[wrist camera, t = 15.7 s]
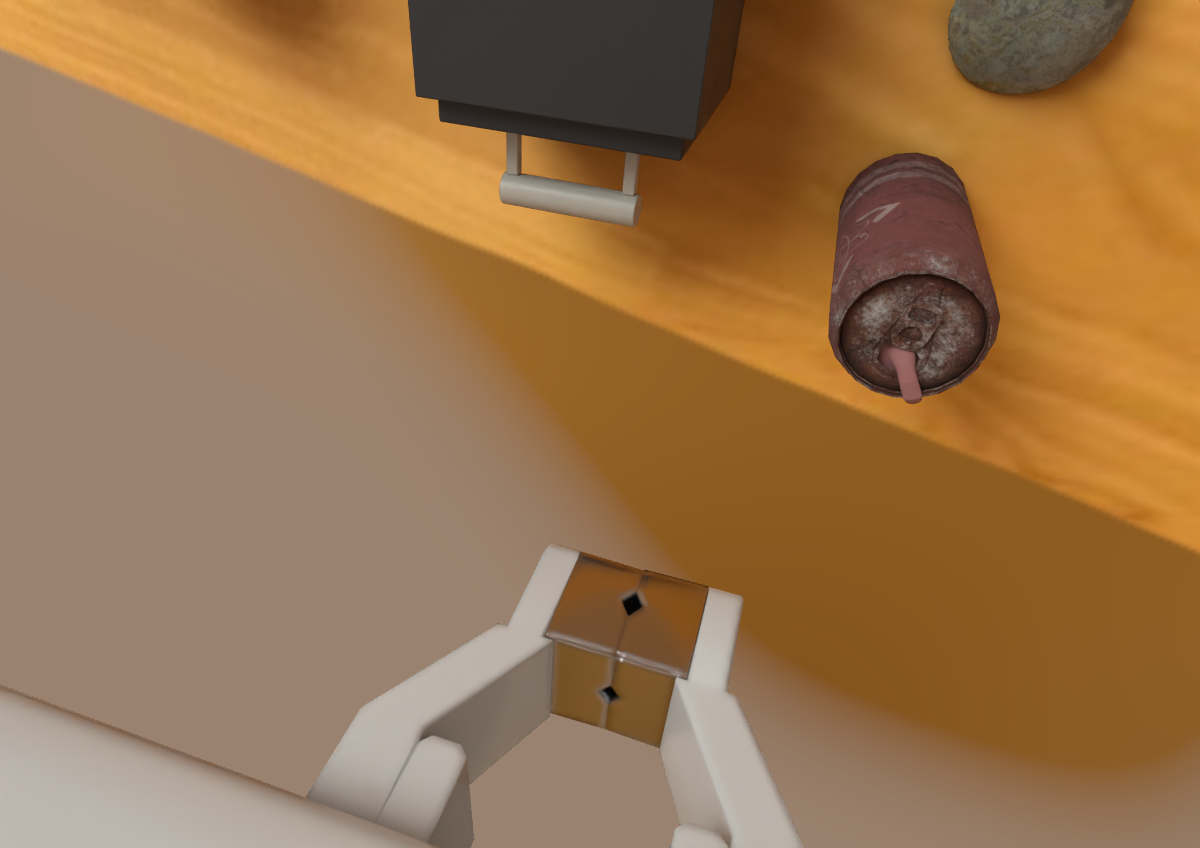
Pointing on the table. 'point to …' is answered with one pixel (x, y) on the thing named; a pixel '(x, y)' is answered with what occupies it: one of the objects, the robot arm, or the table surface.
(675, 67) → the black drawer box
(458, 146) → the table surface
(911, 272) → the can
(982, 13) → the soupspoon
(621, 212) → the dark drawer with handle
